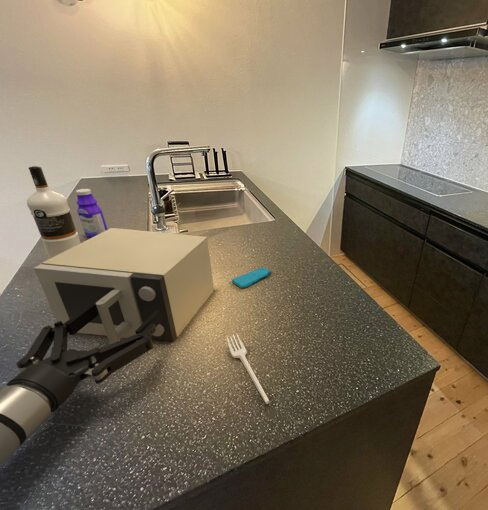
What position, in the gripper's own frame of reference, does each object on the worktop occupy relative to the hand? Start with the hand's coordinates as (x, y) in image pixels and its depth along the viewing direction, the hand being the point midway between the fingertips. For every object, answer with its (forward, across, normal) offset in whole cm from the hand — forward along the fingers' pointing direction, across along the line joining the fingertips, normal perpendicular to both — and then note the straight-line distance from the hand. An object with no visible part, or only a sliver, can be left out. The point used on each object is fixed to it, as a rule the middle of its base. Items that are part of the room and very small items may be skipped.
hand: (127, 312), depth 64 cm
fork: (-4, +26, -9) cm, 28 cm away
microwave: (+12, -6, -9) cm, 16 cm away
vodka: (+29, -41, -9) cm, 51 cm away
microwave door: (-1, -9, -9) cm, 12 cm away
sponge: (+31, +16, -9) cm, 36 cm away
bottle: (+50, -49, -9) cm, 70 cm away
